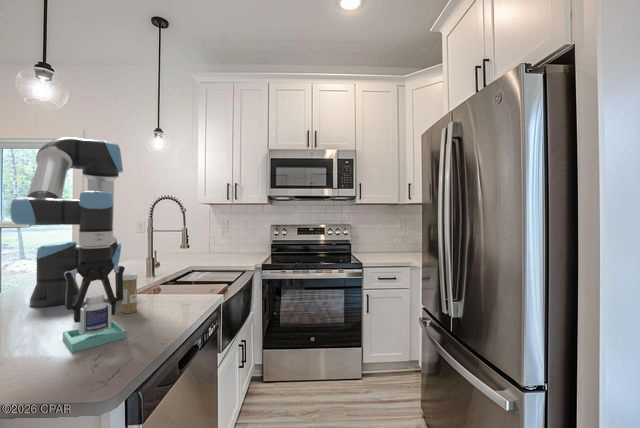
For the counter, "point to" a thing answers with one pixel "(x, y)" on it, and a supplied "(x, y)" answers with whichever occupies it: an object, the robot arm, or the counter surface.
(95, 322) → the pill bottle
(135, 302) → the sprinkles bottle
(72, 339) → the tray
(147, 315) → the counter surface
